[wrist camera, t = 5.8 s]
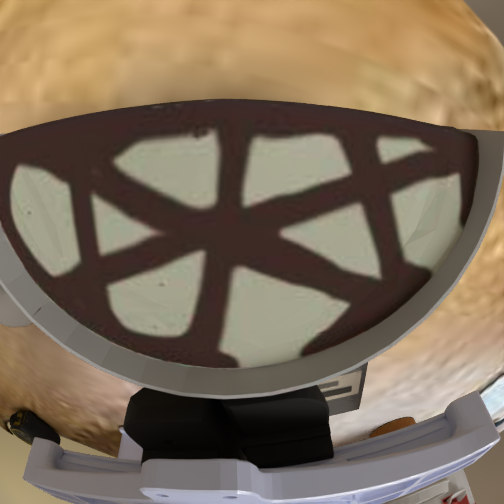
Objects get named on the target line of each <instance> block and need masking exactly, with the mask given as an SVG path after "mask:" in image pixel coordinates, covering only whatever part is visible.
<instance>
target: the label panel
mask: <svg viewBox="0 0 504 504" xmlns="http://www.w3.org/2000/svg"><path fill="white" fill-rule="evenodd" d="M367 365H368V362H367V363H365V364H363V365H361V366H360V367H358V368H356V369H354V370H352V371H349V372H347V373H344V374H342V375H340V376H337V377H335V378H332V379H330V380H327V381H325V382H322V383H319V384H317V386H318V387H319V389H320V390H321V392H322V393H323V395H324V397H325V399H326V401H327V403H328V406H329V416H332V415H336V414H340V413H345V412H349V411H353V410H357V409H359V406H360V402H361V397H362V392H363V387H364V382H365V376H366V371H367Z"/></svg>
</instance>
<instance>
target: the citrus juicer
mask: <svg viewBox="0 0 504 504" xmlns="http://www.w3.org/2000/svg"><path fill="white" fill-rule="evenodd" d="M446 478H447V479H449V480H450V481H449V482H448V490H449V491H448V492H446V493H445V494H443V495H441V496H439V497H437V498H435V499H433V500H431V501H429V502H427V503H424V504H476V503H474V499H473V496H472V493H471V490H470V487H469V484H468V481H467V478H466V475H465V473H464V470H463V469H461V470H459V471H457V472H455V473H453V474H451V475H449V476H447V477H446Z"/></svg>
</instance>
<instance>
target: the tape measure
mask: <svg viewBox="0 0 504 504" xmlns="http://www.w3.org/2000/svg"><path fill="white" fill-rule="evenodd" d="M10 425H11V428H10V429H11V431H12V432H13V433H14V434H15V435H16V436H17V437H18V438H20V439H21V440H23V441H24V442H26V443H28V444H30V445H32V444H33V441H34V438H35V437H38V438H42V439H46V440H50V441H52V442H55V443H56V444H58V445H60V436H59V435H58V434H57V433H56V432H55V431H54V430H52V429H51V428H50V427H49V426H47V425H46V424H45V423H44V422H43V421H42V420H40V419H38V418H36V417H35V416H34V415H33V414H32V413H30V412H29V411H26V412H22V411H17V412H16V413H15V414H13V415H11V417H10Z"/></svg>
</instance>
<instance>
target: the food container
mask: <svg viewBox="0 0 504 504" xmlns="http://www.w3.org/2000/svg"><path fill="white" fill-rule="evenodd" d="M503 174H504V132H503V131H489V130H468V129H456V128H454V127H449V126H439V125H434V124H430V123H425V122H420V121H415V120H411V119H406V118H402V117H397V116H392V115H386V114H381V113H375V112H369V111H363V110H356V109H349V108H342V107H333V106H324V105H316V104H306V103H296V102H284V101H270V100H249V99H207V100H192V101H180V102H170V103H160V104H152V105H144V106H136V107H128V108H121V109H114V110H108V111H102V112H96V113H90V114H85V115H80V116H74V117H70V118H65V119H60V120H56V121H51V122H47V123H43V124H39V125H35V126H31V127H28V128H24V129H21V130H17V131H14V132H11V133H8V134H0V284H1V286H2V287H3V289H4V290H5V291H6V293H7V294H8V295H9V296H10V298H11V299H12V300H13V301H14V302H15V304H16V305H17V306H18V307H19V308H20V309H21V310H22V312H23V313H24V314H25V315H26V316H27V317H28V318H29V319H30V320H31V321H32V322H33V323H34V324H35V325H36V326H37V327H38V328H40V329H41V330H42V331H43V332H44V333H45V334H47V335H48V336H49V337H50V338H51V339H53V340H54V341H55V342H56V343H57V344H59V345H60V346H61V347H62V348H64V349H66V350H67V351H69V352H70V353H72V354H74V355H75V356H77V357H78V358H80V359H82V360H83V361H85V362H87V363H88V364H90V365H92V366H94V367H95V368H97V369H99V370H101V371H104V372H106V373H108V374H111V375H113V376H115V377H118V378H120V379H123V380H125V381H128V382H130V383H133V384H136V385H138V386H142V387H146V388H150V389H154V390H158V391H162V392H167V393H171V394H176V395H180V396H189V397H201V398H215V399H237V398H251V397H262V396H271V395H276V394H281V393H285V392H290V391H294V390H298V389H302V388H306V387H310V386H314V385H317V384H319V383H322V382H325V381H327V380H330V379H332V378H335V377H337V376H340V375H342V374H344V373H347V372H349V371H352V370H354V369H356V368H358V367H360V366H361V365H363V364H365V363H367V362H368V361H370V360H372V359H373V358H375V357H377V356H378V355H380V354H382V353H383V352H385V351H387V350H388V349H390V348H391V347H393V346H394V345H396V344H397V343H398V342H399V341H401V340H402V339H403V338H404V337H406V336H407V335H408V334H409V333H410V332H412V331H413V330H414V329H415V328H416V327H418V326H419V325H420V324H421V323H422V322H423V321H425V320H426V319H427V318H428V317H429V316H430V315H431V314H432V313H433V311H434V310H435V309H436V308H437V307H438V306H439V305H440V304H441V302H442V301H443V300H444V299H445V298H446V297H447V296H448V294H449V293H450V292H451V291H452V290H453V288H454V287H455V286H456V285H457V283H458V282H459V280H460V279H461V277H462V276H463V274H464V272H465V271H466V269H467V268H468V266H469V264H470V263H471V261H472V260H473V258H474V256H475V255H476V253H477V251H478V249H479V247H480V245H481V243H482V241H483V238H484V236H485V234H486V231H487V229H488V227H489V224H490V222H491V219H492V217H493V214H494V211H495V208H496V204H497V200H498V196H499V192H500V188H501V183H502V179H503Z"/></svg>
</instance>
